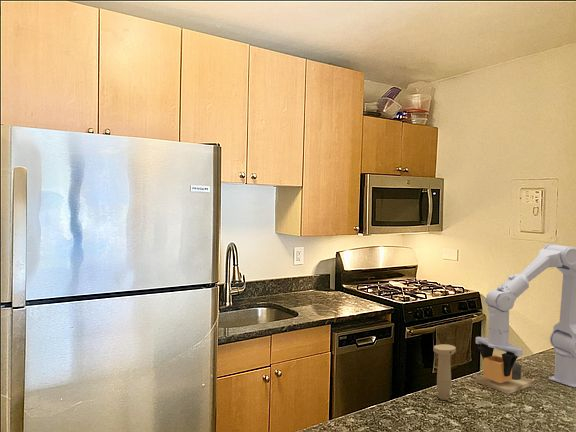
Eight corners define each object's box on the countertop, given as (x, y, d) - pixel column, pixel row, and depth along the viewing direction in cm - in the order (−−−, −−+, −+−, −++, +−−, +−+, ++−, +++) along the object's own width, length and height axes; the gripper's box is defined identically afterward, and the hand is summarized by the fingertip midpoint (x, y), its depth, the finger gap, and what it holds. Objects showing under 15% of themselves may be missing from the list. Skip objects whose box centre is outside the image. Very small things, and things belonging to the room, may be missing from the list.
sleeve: (483, 377, 141) (483, 358, 141) (494, 373, 144) (495, 355, 144) (500, 383, 136) (500, 363, 136) (511, 379, 139) (512, 360, 139)
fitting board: (501, 373, 150) (502, 357, 150) (534, 384, 141) (534, 368, 141) (475, 381, 143) (475, 365, 143) (508, 394, 134) (508, 376, 133)
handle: (458, 399, 129) (459, 348, 129) (440, 403, 127) (441, 351, 126) (446, 393, 134) (447, 343, 133) (429, 396, 131) (430, 345, 131)
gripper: (469, 325, 143) (469, 367, 144) (513, 337, 131) (512, 382, 131) (483, 322, 147) (482, 363, 147) (526, 333, 135) (525, 378, 135)
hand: (497, 372), depth 140 cm, fingers closed on sleeve, 6 cm apart
